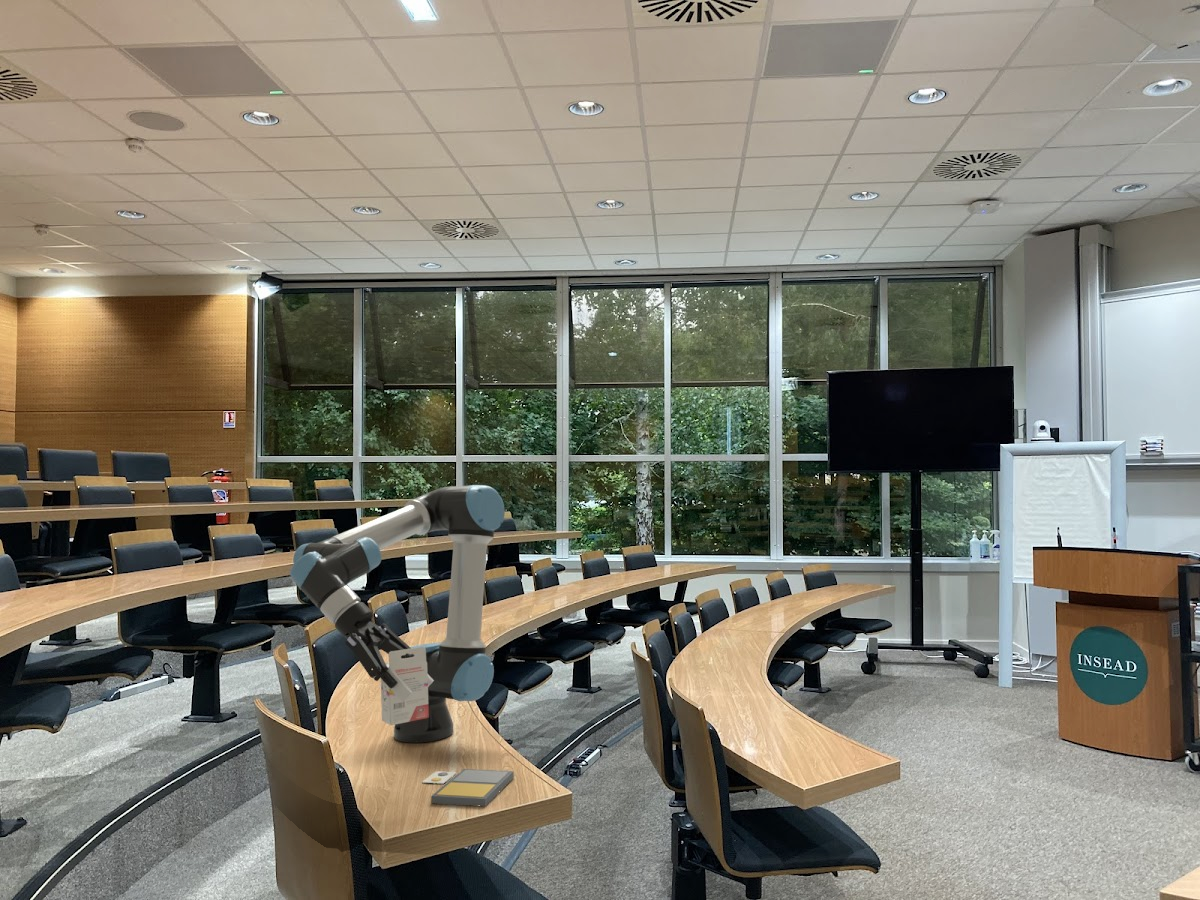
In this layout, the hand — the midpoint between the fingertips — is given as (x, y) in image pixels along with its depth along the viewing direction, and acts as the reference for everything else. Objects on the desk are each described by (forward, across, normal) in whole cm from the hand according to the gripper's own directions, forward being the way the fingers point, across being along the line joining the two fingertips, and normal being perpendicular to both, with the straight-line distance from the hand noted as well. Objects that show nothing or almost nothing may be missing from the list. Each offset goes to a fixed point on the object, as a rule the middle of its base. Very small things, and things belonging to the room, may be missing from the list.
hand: (418, 691), depth 171 cm
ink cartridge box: (+2, 0, -7) cm, 7 cm away
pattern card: (+14, -12, -16) cm, 25 cm away
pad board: (+22, -6, -9) cm, 24 cm away
